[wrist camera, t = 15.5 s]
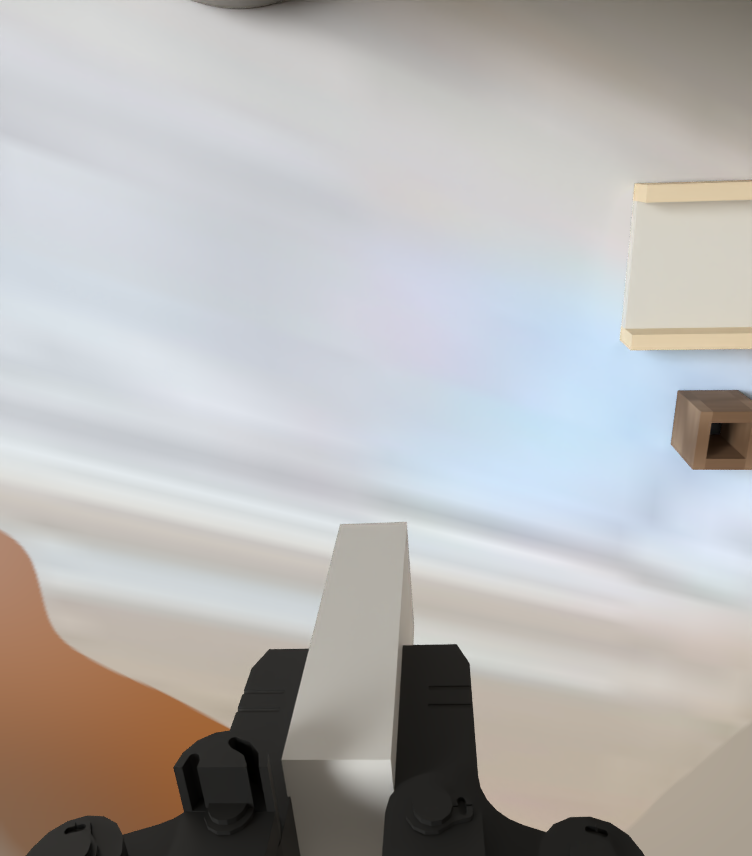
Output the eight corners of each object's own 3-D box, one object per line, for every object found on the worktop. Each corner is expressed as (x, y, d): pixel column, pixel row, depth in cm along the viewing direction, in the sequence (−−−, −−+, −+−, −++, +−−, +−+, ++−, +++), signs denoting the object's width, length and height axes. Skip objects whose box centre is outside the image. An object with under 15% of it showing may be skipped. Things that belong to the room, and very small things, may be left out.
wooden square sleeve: (677, 390, 38) (701, 411, 35) (737, 390, 38) (766, 411, 35) (670, 444, 39) (692, 469, 36) (729, 444, 39) (756, 469, 36)
